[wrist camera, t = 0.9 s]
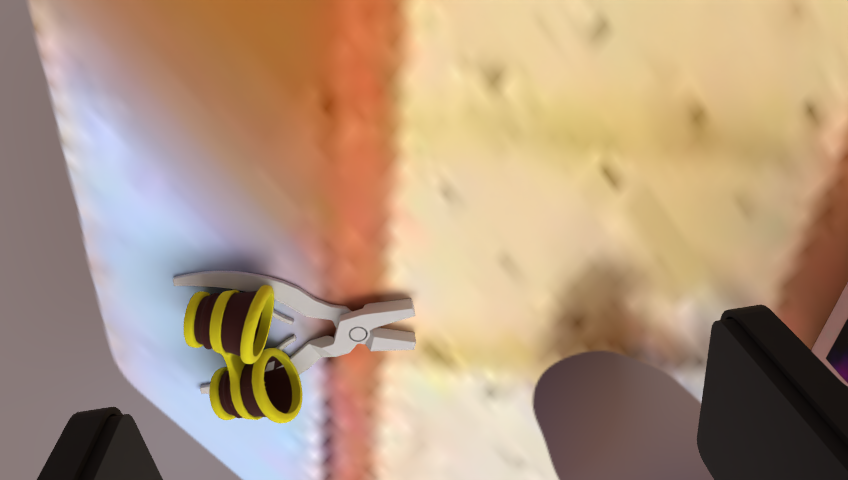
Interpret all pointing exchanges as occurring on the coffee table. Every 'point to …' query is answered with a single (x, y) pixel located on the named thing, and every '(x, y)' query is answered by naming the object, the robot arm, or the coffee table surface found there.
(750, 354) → the robot arm
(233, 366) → the opera glasses
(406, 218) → the coffee table surface
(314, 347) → the pliers
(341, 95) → the coffee table surface
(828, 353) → the greeting card
